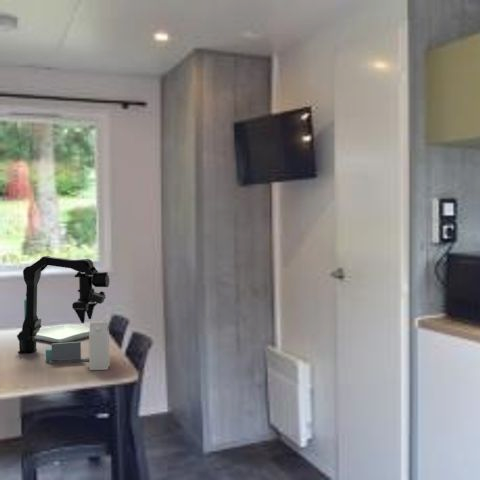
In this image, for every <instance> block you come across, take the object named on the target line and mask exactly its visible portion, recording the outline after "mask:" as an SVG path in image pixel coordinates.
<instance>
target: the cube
mask: <svg viewBox="0 0 480 480" xmlns="http://www.w3.org/2000/svg"><path fill="white" fill-rule="evenodd" d="M50 359H52V346H49V347H45V362H49V360H50Z"/></svg>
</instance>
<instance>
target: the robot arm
mask: <svg viewBox="0 0 480 480" xmlns="http://www.w3.org/2000/svg"><path fill="white" fill-rule="evenodd" d="M48 266H51V267H58V268H59V267H60V268H66V269H70V270H71V269H72V270H74V271H75V272H77V273H76V274H75V275H74V278H78V288H79V289H77V293H79V294H78V295H79V298H78V299H77V300H76V301H73V303H72V304H71V305H72V306H71V308H72V309H73V310H74V312H75V313H76V316H77V317H78V318H79V321H80V323H81V324H85V321H86V314H87V318H88V320H91V319H92V318H93V312H94V309H95V307H96V306H97V305H98V304H100V305H101V304H102V303H104V301H105V299H106V292H104V291H99V292H97V291H95V288H108V287H109V286H110V276H109V275H108V271H103V272H99V271H98V269H96V267H95V266H94V262H93V261H92V259H89V258H81V259H80V258H79V259H71V258H64V257H55V256H50V255H44V256H42V257H41V258H40V259H38V260H37V261H35V262H34V263H32V264H31V265H29V266H26V267H24V268H23V271H22V275H23V276H22V277H23V280H24V283H25V285H26V291H25V298H26V317H25V316H24V320H23V322H22V328H21V330H20V332H19V333H18V334H17V335H16V338H17V341H18V343H19V344H18V345H19V348H18V349H19V350H18V351H17V353H18V354H21V353H22V354H23V353H24V354H31V353H34V352H35V351H37V350H38V348H37V340H36V339H35V336H36V334H37V332H39V330H40V329H42V318H39V317H38V315H37V313H38V311H37V310H38V284H39V282H40V280H41V274H42V272H43V271H44V270H45V269H46V268H47V267H48ZM93 286H94V287H95V288H93Z"/></svg>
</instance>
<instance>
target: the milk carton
mask: <svg viewBox="0 0 480 480" xmlns="http://www.w3.org/2000/svg"><path fill="white" fill-rule="evenodd" d="M89 327H90V330H89V336H88V344H89V345H88V350H89V353H88V354H89V356H88V357H89V361H88V362H89V371H102V370H103V371H104V370H108V369H109V366H110V329H109V324H108V321H107V322H105V321H103V322H90V323H89Z"/></svg>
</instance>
